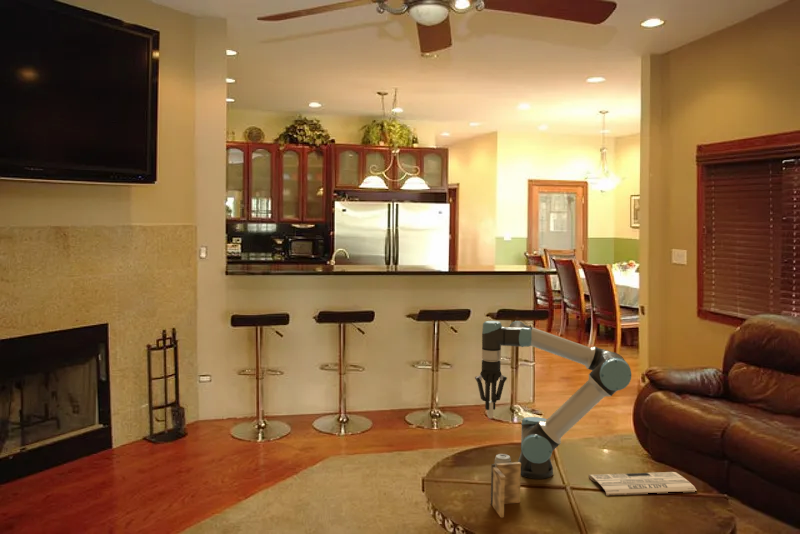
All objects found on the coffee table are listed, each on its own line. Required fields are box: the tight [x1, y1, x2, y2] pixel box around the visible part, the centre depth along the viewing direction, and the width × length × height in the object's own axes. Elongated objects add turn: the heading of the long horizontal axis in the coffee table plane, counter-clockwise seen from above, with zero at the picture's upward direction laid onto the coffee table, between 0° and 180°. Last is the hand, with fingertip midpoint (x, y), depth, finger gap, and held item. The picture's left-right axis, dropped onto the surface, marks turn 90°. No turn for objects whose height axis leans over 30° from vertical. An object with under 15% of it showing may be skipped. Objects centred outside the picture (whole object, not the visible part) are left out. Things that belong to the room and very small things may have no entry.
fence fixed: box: [492, 467, 505, 518], centre depth 235 cm, size 9×2×15 cm, turn 10°
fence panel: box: [490, 461, 522, 506], centre depth 242 cm, size 11×2×15 cm, turn 101°
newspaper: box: [588, 471, 698, 496], centre depth 261 cm, size 37×19×3 cm, turn 96°
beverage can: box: [494, 453, 512, 467], centre depth 260 cm, size 6×6×12 cm
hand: (490, 417), depth 263 cm, fingers closed
